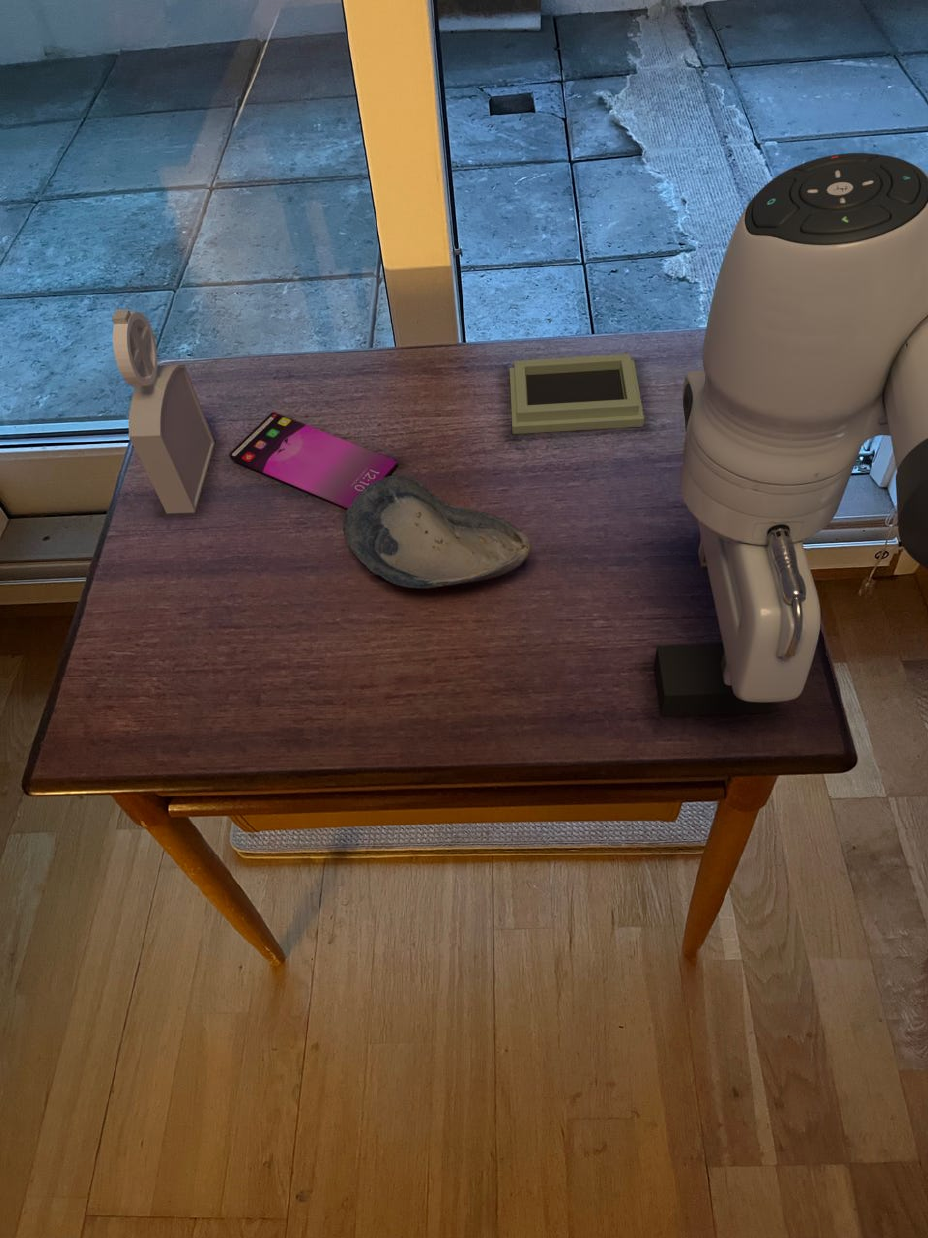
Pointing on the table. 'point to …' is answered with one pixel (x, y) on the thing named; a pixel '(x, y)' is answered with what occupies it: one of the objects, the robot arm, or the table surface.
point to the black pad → (697, 682)
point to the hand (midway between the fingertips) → (722, 617)
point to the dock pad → (575, 394)
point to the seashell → (428, 537)
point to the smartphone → (311, 459)
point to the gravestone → (163, 416)
